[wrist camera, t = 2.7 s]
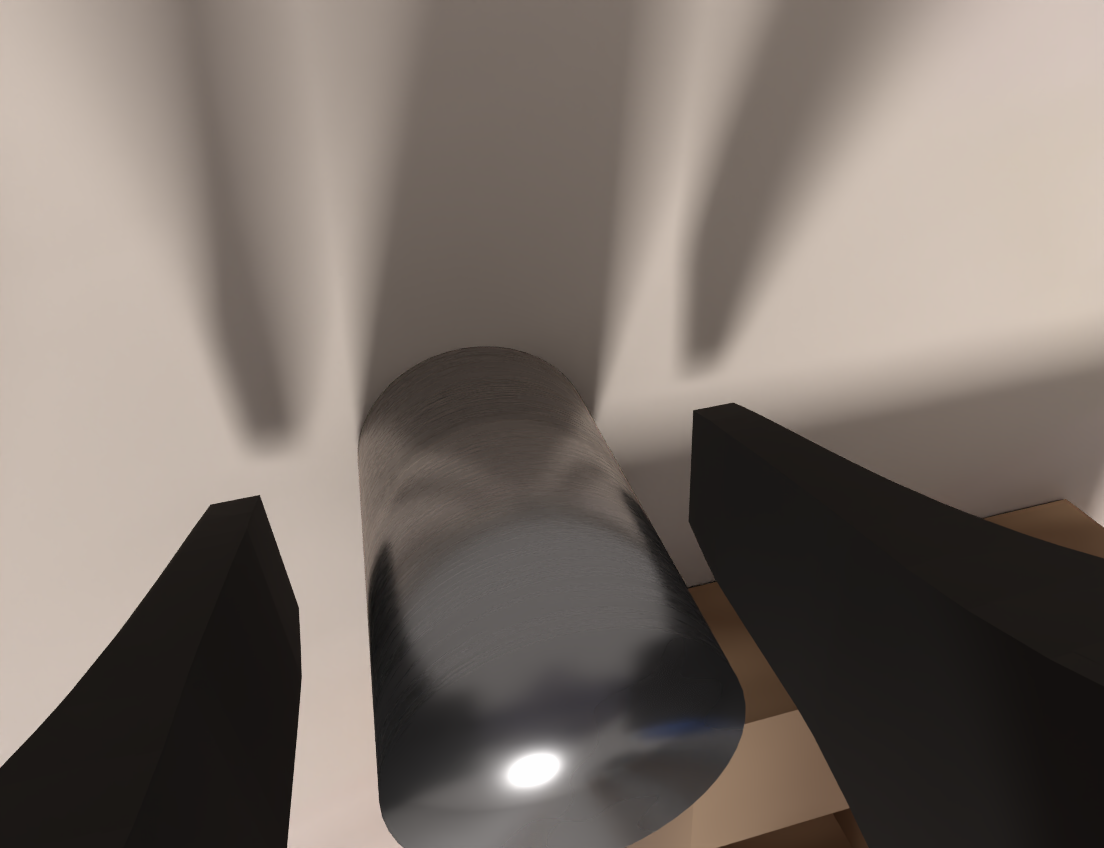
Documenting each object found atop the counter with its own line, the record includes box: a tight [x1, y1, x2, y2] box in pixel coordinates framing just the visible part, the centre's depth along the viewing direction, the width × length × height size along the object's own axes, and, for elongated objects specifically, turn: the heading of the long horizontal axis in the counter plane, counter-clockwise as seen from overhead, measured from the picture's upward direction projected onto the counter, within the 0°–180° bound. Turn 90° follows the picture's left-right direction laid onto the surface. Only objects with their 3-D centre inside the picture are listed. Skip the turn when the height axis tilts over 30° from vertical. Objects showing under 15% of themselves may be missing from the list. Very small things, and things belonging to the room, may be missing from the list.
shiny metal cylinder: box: [358, 347, 746, 848], centre depth 10 cm, size 4×4×6 cm
